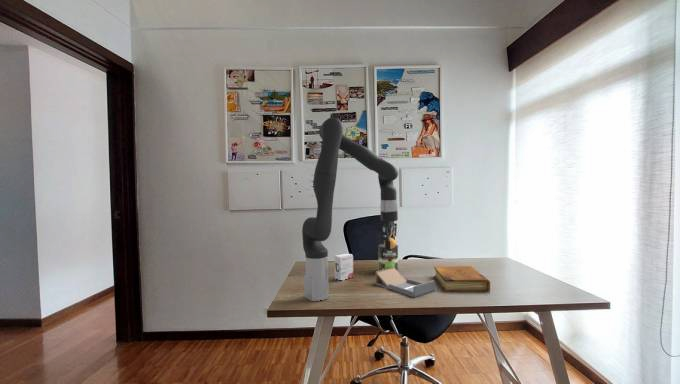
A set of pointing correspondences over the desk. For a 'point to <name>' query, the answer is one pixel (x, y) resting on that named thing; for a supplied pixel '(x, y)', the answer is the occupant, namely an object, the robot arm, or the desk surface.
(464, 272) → the diary
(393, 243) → the ball
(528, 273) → the desk surface
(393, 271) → the rolling lane
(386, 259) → the coffee can
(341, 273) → the ink box
